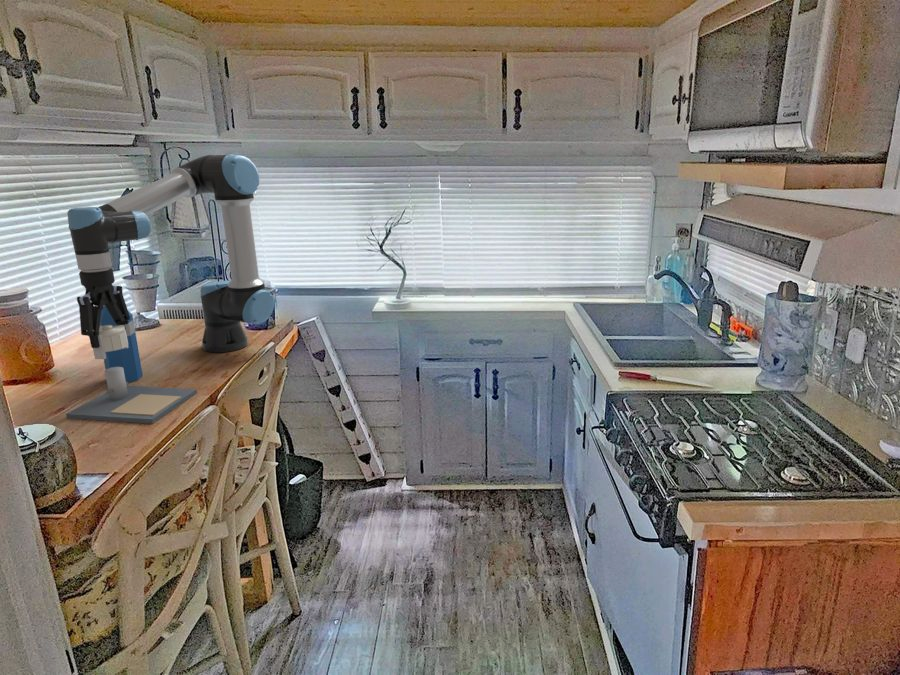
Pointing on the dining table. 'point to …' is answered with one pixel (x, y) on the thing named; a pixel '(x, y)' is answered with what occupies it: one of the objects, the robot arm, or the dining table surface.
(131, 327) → the water bottle
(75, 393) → the dining table surface
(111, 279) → the robot arm
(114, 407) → the board
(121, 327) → the cap
